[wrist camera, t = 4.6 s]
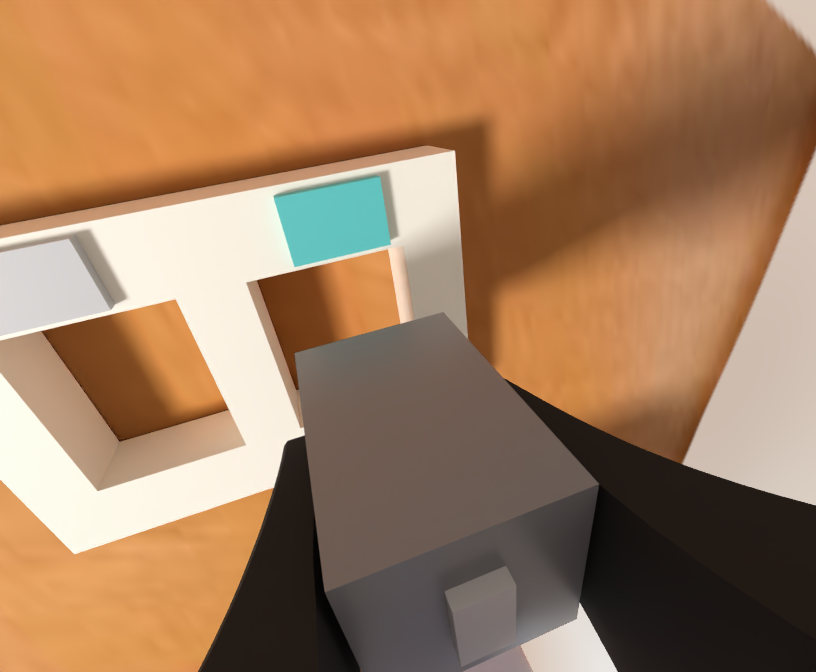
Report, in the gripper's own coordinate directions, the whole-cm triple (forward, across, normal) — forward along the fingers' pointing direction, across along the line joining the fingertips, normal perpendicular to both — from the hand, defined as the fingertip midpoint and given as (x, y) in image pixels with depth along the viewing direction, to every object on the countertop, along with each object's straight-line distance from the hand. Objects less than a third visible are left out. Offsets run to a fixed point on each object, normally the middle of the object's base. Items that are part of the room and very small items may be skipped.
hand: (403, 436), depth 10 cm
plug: (+2, 0, 0) cm, 2 cm away
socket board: (+8, +4, 0) cm, 9 cm away
